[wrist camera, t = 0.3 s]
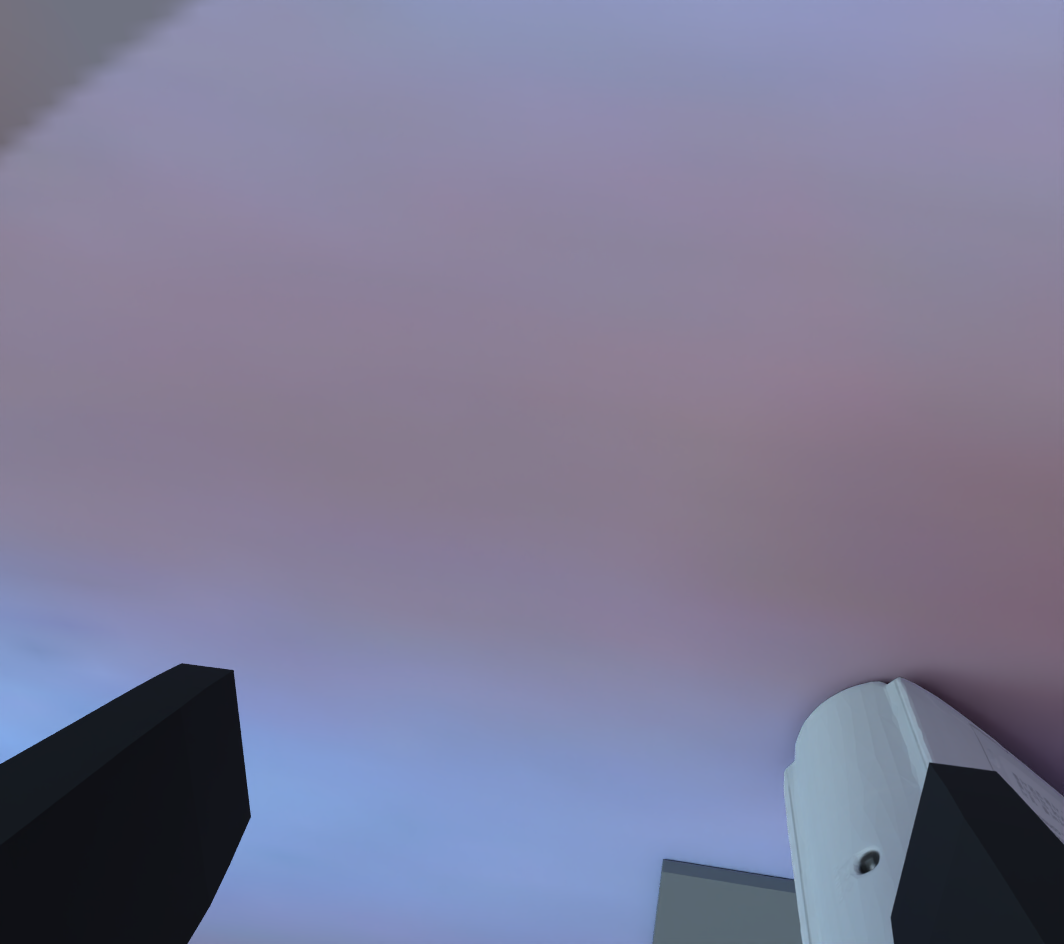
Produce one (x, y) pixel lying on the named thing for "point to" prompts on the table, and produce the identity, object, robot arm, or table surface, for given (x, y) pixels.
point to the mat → (724, 907)
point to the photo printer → (878, 800)
